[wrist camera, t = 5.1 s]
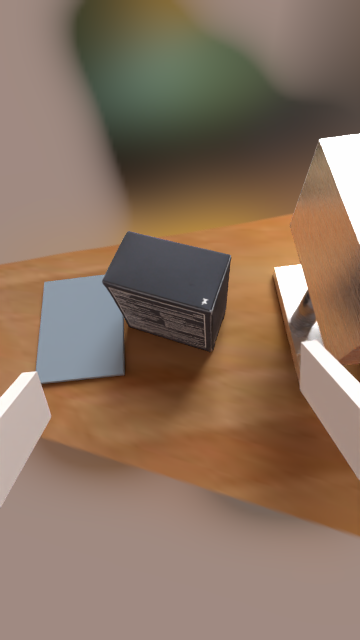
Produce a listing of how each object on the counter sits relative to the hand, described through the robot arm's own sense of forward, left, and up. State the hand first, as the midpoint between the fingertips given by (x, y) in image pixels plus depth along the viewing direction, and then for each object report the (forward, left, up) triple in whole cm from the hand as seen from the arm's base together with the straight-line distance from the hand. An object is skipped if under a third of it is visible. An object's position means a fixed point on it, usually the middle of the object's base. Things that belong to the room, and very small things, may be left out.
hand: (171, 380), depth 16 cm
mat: (+12, -12, -18) cm, 25 cm away
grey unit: (-13, -9, -19) cm, 24 cm away
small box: (0, -12, -19) cm, 22 cm away
